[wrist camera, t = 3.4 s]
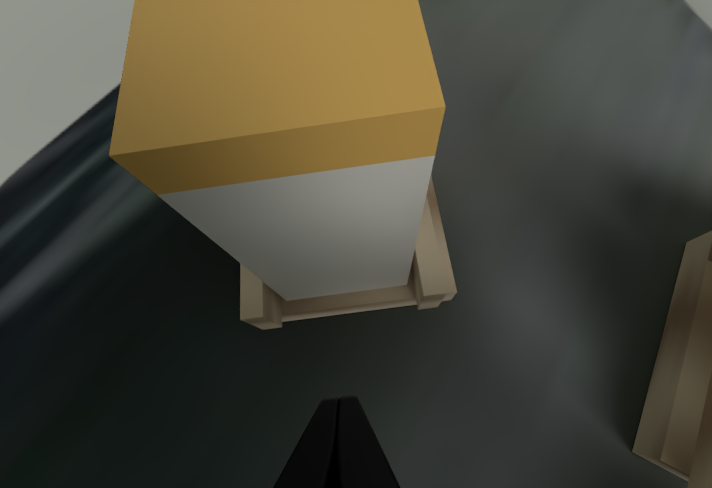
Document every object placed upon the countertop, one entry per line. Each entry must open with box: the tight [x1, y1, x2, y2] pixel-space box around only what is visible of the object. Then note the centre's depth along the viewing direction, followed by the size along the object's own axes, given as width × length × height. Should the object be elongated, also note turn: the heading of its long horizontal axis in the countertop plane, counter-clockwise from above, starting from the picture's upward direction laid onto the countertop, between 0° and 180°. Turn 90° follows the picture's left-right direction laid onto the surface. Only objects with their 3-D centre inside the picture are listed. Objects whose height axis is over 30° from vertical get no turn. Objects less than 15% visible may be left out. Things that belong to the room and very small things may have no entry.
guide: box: [240, 176, 457, 330], centre depth 15 cm, size 10×9×6 cm
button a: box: [109, 0, 446, 301], centre depth 11 cm, size 4×5×10 cm
